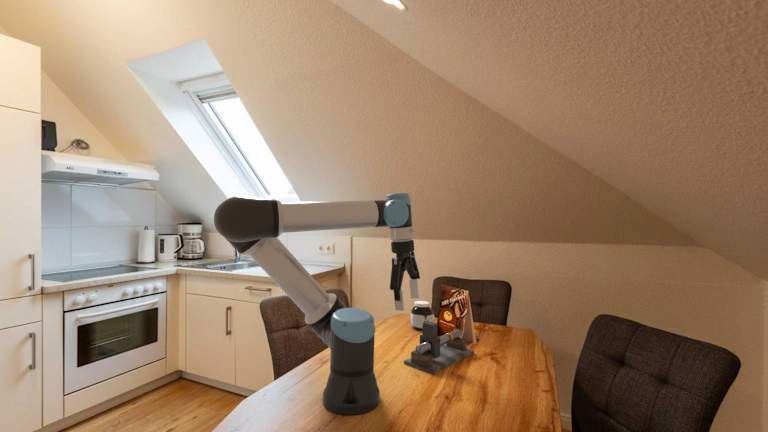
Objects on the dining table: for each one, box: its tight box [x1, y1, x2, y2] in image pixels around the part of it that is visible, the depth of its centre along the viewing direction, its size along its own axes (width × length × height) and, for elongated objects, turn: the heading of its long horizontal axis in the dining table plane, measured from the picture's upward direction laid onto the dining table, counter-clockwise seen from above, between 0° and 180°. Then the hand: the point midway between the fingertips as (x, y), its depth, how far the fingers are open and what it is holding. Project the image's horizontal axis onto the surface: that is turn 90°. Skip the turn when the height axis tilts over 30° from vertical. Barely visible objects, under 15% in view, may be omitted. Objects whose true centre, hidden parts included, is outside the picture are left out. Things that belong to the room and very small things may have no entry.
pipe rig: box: [403, 337, 475, 375], centre depth 130 cm, size 26×12×4 cm, turn 138°
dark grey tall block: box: [419, 321, 440, 359], centre depth 125 cm, size 3×6×11 cm, turn 48°
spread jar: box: [410, 300, 436, 331], centre depth 167 cm, size 12×11×12 cm
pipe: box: [415, 329, 463, 355], centre depth 130 cm, size 25×3×3 cm, turn 138°
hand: (407, 303), depth 121 cm, fingers open, 13 cm apart
